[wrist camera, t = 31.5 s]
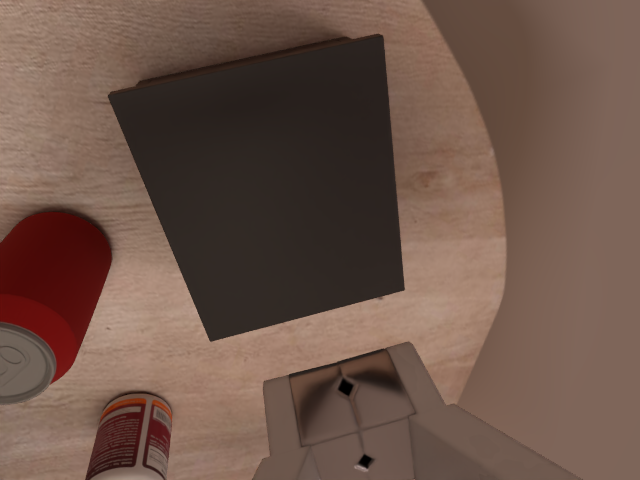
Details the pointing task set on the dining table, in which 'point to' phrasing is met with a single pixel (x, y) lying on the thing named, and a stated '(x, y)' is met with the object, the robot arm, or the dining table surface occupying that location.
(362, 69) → the dark hinged box lid
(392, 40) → the dining table surface
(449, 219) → the dining table surface
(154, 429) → the pill bottle
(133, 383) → the dining table surface
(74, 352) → the beverage can
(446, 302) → the dining table surface
